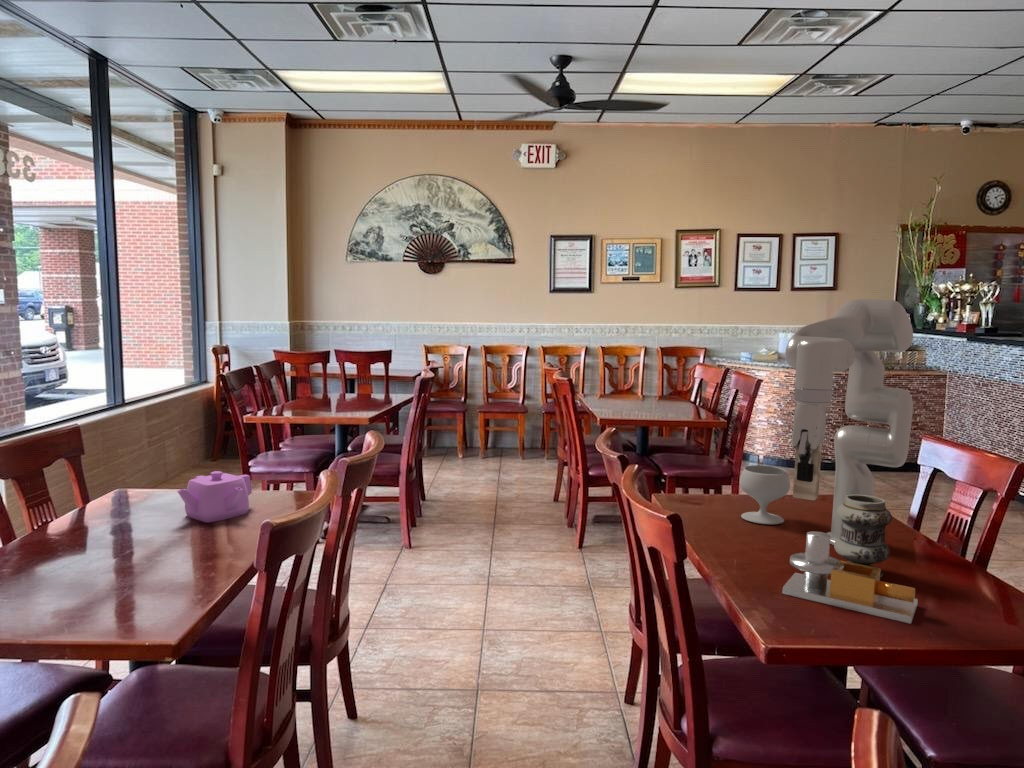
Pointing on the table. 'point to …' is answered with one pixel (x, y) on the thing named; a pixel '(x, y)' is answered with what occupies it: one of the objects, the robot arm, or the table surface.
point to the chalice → (764, 490)
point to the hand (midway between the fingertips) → (807, 478)
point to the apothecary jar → (863, 530)
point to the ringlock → (847, 583)
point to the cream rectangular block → (802, 487)
